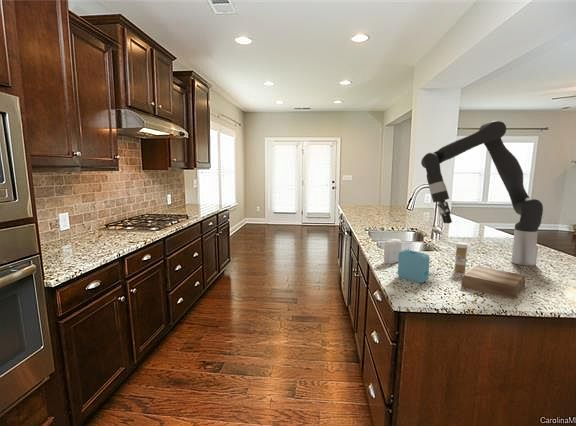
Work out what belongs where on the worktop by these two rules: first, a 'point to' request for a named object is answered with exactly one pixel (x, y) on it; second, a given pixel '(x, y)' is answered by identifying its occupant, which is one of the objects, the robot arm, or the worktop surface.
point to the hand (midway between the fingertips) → (447, 223)
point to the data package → (413, 266)
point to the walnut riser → (494, 281)
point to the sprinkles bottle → (461, 256)
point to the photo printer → (392, 250)
